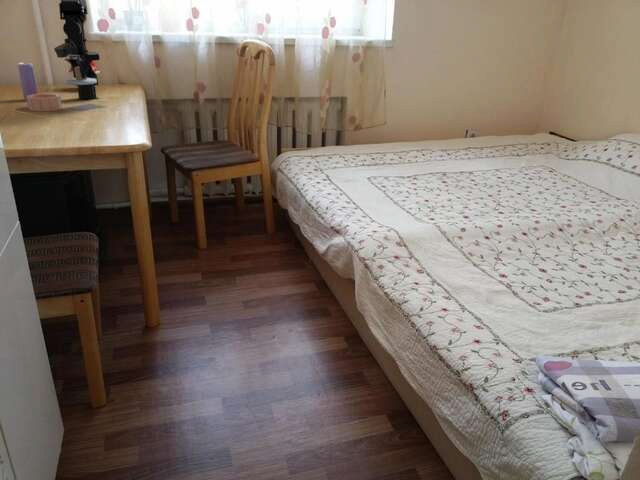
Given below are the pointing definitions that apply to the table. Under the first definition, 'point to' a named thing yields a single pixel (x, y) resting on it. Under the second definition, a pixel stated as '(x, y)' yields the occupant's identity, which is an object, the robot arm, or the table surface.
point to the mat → (85, 107)
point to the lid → (80, 79)
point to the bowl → (44, 102)
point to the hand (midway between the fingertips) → (81, 78)
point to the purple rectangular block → (28, 79)
